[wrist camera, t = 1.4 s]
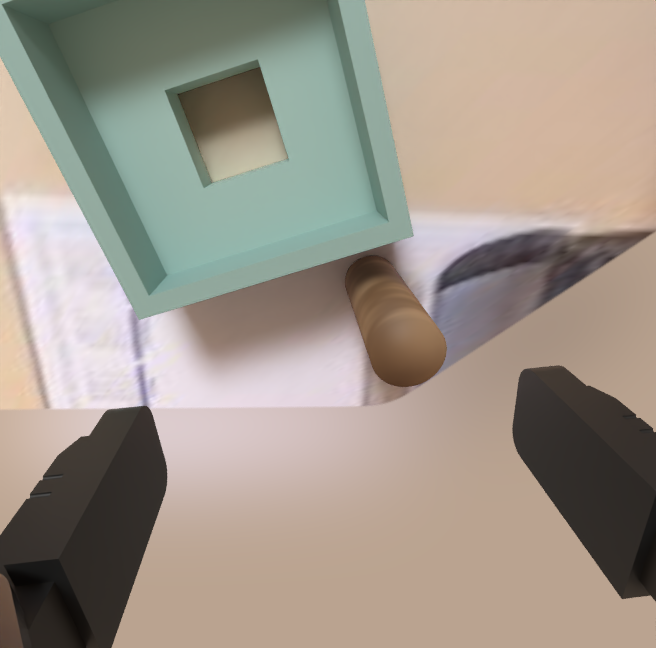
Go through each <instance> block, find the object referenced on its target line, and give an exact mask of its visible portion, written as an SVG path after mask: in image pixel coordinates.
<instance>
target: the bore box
mask: <svg viewBox="0 0 656 648" xmlns="http://www.w3.org/2000/svg"><path fill="white" fill-rule="evenodd" d="M0 57H1V59H2V61H3V63H4V65H5V67H6V69H7V70H8V72H9V74H10V76H11V78H12V80H13V82H14V84H15V86H16V87H17V89H18V91H19V93H20V95H21V97H22V99H23V101H24V103H25V104H26V106H27V108H28V110H29V112H30V114H31V116H32V118H33V120H34V122H35V123H36V125H37V127H38V129H39V131H40V133H41V135H42V137H43V139H44V140H45V142H46V144H47V146H48V148H49V150H50V152H51V154H52V156H53V158H54V159H55V161H56V163H57V165H58V167H59V169H60V171H61V173H62V175H63V176H64V178H65V180H66V182H67V184H68V186H69V188H70V190H71V192H72V193H73V195H74V197H75V199H76V201H77V203H78V205H79V207H80V209H81V211H82V212H83V214H84V216H85V218H86V220H87V222H88V224H89V226H90V228H91V229H92V231H93V233H94V235H95V237H96V239H97V241H98V243H99V245H100V247H101V248H102V250H103V252H104V254H105V256H106V258H107V260H108V262H109V264H110V265H111V267H112V269H113V271H114V273H115V275H116V277H117V279H118V281H119V282H120V284H121V286H122V288H123V290H124V292H125V294H126V296H127V298H128V300H129V301H130V303H131V305H132V307H133V309H134V311H135V313H136V315H137V317H138V318H139V320H141V319H144V318H147V317H150V316H154V315H157V314H160V313H164V312H167V311H170V310H173V309H177V308H180V307H183V306H186V305H190V304H193V303H196V302H200V301H203V300H206V299H209V298H213V297H216V296H219V295H223V294H226V293H229V292H232V291H236V290H239V289H242V288H245V287H249V286H252V285H255V284H259V283H262V282H265V281H268V280H272V279H275V278H278V277H282V276H285V275H288V274H291V273H295V272H298V271H301V270H304V269H308V268H311V267H314V266H318V265H321V264H324V263H327V262H331V261H334V260H337V259H341V258H344V257H347V256H350V255H354V254H357V253H360V252H363V251H367V250H370V249H373V248H377V247H380V246H383V245H386V244H390V243H393V242H396V241H400V240H403V239H406V238H409V237H413V236H414V235H413V231H412V226H411V221H410V216H409V211H408V207H407V202H406V197H405V192H404V187H403V183H402V178H401V173H400V168H399V163H398V159H397V154H396V149H395V144H394V139H393V135H392V130H391V125H390V120H389V115H388V111H387V106H386V101H385V96H384V91H383V86H382V82H381V77H380V72H379V67H378V62H377V58H376V53H375V48H374V43H373V38H372V34H371V29H370V24H369V19H368V14H367V10H366V5H365V0H0ZM258 67H260V68H261V71H262V74H263V78H264V81H265V84H266V87H267V91H268V94H269V97H270V100H271V103H272V107H273V110H274V113H275V116H276V120H277V123H278V126H279V129H280V132H281V136H282V139H283V142H284V145H285V149H286V152H287V155H288V158H289V159H286V160H283V161H279V162H276V163H273V164H270V165H267V166H264V167H261V168H258V169H254V170H251V171H248V172H245V173H242V174H239V175H236V176H232V177H229V178H226V179H223V180H220V181H217V182H214V183H212V182H211V179H210V177H209V174H208V172H207V169H206V167H205V164H204V161H203V159H202V156H201V154H200V151H199V149H198V146H197V143H196V141H195V138H194V136H193V133H192V131H191V128H190V126H189V123H188V120H187V118H186V115H185V113H184V110H183V108H182V105H181V102H180V100H179V97H178V95H177V94H180V93H183V92H186V91H189V90H192V89H195V88H198V87H201V86H204V85H207V84H210V83H213V82H216V81H219V80H222V79H225V78H228V77H231V76H234V75H237V74H240V73H243V72H246V71H249V70H252V69H255V68H258Z"/></svg>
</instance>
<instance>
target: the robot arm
mask: <svg viewBox="0 0 656 648" xmlns="http://www.w3.org/2000/svg"><path fill="white" fill-rule="evenodd" d="M513 439H514V443H515V447H516V449H517V452H518V454H519V455H520V457H521V458H522V460H523V461H524V463H525V464H526V465H527V467H528V468H529V469H530V471H531V472H532V474H533V475H534V477H535V478H536V479H537V481H538V482H539V484H540V485H541V486H542V488H543V489H544V491H545V492H546V493H547V495H548V496H549V498H550V499H551V500H552V502H553V503H554V504H555V506H556V507H557V509H558V510H559V512H560V513H561V514H562V516H563V517H564V519H565V520H566V521H567V523H568V524H569V526H570V527H571V528H572V530H573V531H574V532H575V534H576V535H577V537H578V538H579V539H580V541H581V542H582V544H583V545H584V547H585V548H586V549H587V550H588V552H589V553H590V555H591V556H592V558H593V559H594V560H595V562H596V563H597V564H598V566H599V567H600V569H601V570H602V572H603V573H604V575H605V576H606V577H607V578H608V580H609V582H610V583H611V584H612V586H613V587H614V589H615V590H616V591H617V593H618V594H619V596H621V598H622V599H626V598H632V597H641V596H649V595H651V596H652V597H653V599H654V600H655V601H656V432H653V428H652V427H650V426H649V425H648V424H647V423H646V422H644V421H643V420H642V419H641V418H636V414H634V413H633V412H632V411H631V410H629V409H628V408H627V407H626V406H625V405H623V404H622V403H621V402H620V401H618V400H617V399H616V398H614V397H612V396H610V395H608V394H605V393H604V392H601V391H599V390H597V389H595V388H593V387H591V386H586V385H585V384H584V383H582V382H581V381H580V380H579V379H578V378H576V377H575V376H574V375H573V374H572V373H571V372H569V371H568V370H567V369H566V368H564V367H562V366H549V367H539V368H530V369H524V370H523V371H522V372H521V374H520V377H519V382H518V390H517V398H516V405H515V413H514V420H513ZM166 486H167V466H166V462H165V458H164V454H163V451H162V447H161V444H160V440H159V436H158V433H157V429H156V426H155V422H154V419H153V415H152V413H151V410H150V409H149V408H148V407H147V406H139V407H129V408H119V409H109V410H107V411H106V412H105V413H104V414H103V416H102V417H101V419H100V420H99V422H98V424H97V425H96V427H95V428H94V430H93V431H92V433H91V434H90V436H85V437H80V438H79V439H78V440H77V441H75V442H74V443H73V444H72V445H70V446H69V447H68V448H67V449H65V450H64V451H63V452H62V453H60V454H59V455H58V456H57V457H56V459H55V460H54V462H53V463H52V464H51V466H50V467H49V469H48V470H47V472H46V473H45V474H44V475H43V480H40V481H39V483H38V484H37V485H36V487H35V488H34V490H33V491H32V492H31V493H30V499H26V500H25V502H24V503H23V505H22V506H21V507H20V509H19V510H18V512H17V513H16V514H15V516H14V517H13V518H12V520H11V521H10V523H9V524H8V525H7V527H6V528H5V529H4V531H3V532H2V534H1V535H0V648H111V647H112V644H113V642H114V638H115V636H116V633H117V630H118V627H119V624H120V622H121V618H122V615H123V613H124V610H125V607H126V604H127V601H128V599H129V596H130V593H131V590H132V587H133V584H134V581H135V578H136V576H137V572H138V570H139V567H140V564H141V561H142V558H143V555H144V552H145V550H146V547H147V544H148V541H149V538H150V535H151V532H152V530H153V527H154V524H155V521H156V518H157V515H158V512H159V510H160V506H161V504H162V501H163V497H164V495H165V491H166Z"/></svg>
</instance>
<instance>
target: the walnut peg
mask: <svg viewBox="0 0 656 648" xmlns="http://www.w3.org/2000/svg"><path fill="white" fill-rule="evenodd" d="M345 286H346V290H347V293H348V296H349V299H350V302H351V305H352V308H353V311H354V314H355V317H356V320H357V323H358V325H359V328H360V331H361V334H362V337H363V340H364V343H365V346H366V349H367V352H368V355H369V358H370V361H371V364H372V367H373V369H374V371H375V373H376V374H377V375H378V377H379V378H381V379H382V380H383V381H385V382H386V383H388V384H391V385H394V386H399V387H409V386H415V385H418V384H421V383H423V382H425V381H427V380H428V379H430V378H431V377H433V376H434V375H435V374H436V373H437V372H438V370H439V369H440V368H441V366H442V365H443V362H444V360H445V357H446V350H447V347H446V341H445V338H444V336H443V334H442V333H441V331H440V330H439V328H438V327H437V326H436V324H435V323H434V322H433V320H432V319H431V317H430V316H429V315H428V313H427V312H426V311H425V309H424V308H423V307H422V305H421V304H420V303H419V301H418V300H417V298H416V297H415V296H414V294H413V293H412V292H411V290H410V289H409V288H408V286H407V285H406V283H405V282H404V281H403V279H402V278H401V277H400V275H399V274H398V273H397V271H396V270H395V269H394V267H393V266H392V265H391V263H390V262H389V261H387V260H386V259H384V258H382V257H379V256H366V257H363V258H360V259H358V260H357V261H355V262H354V263H353V264H352V265H351V266H350V268H349V270H348V272H347V274H346V278H345Z"/></svg>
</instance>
